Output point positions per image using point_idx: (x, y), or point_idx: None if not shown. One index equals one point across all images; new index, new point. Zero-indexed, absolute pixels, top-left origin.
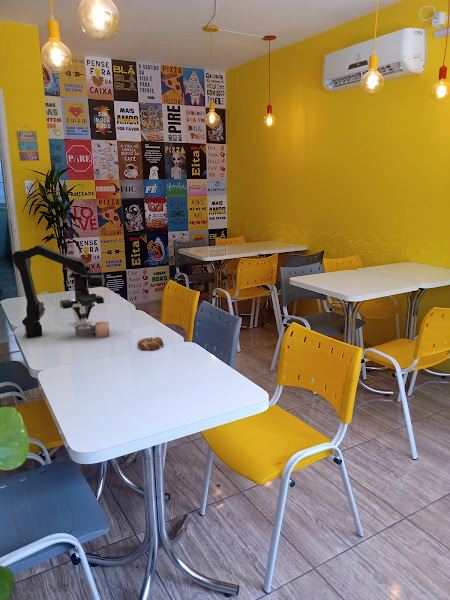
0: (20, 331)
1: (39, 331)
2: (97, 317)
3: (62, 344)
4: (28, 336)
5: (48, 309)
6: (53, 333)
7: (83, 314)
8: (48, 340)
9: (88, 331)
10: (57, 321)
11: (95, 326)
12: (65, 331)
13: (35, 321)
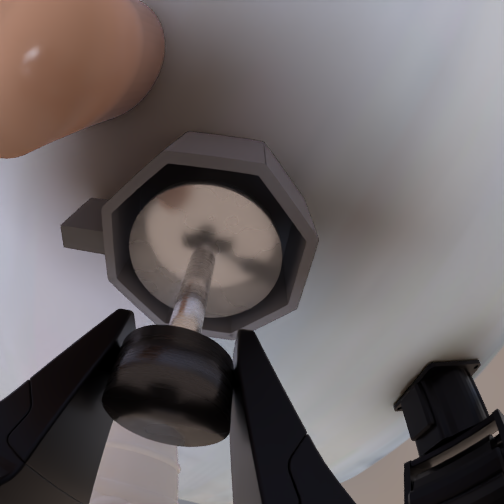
0: None
1: (434, 391)
2: None
3: (492, 116)
4: (471, 371)
5: (205, 499)
6: (365, 371)
7: (166, 407)
8: (476, 274)
9: (200, 143)
10: None
11: (109, 43)
12: (292, 367)
13: (462, 442)
